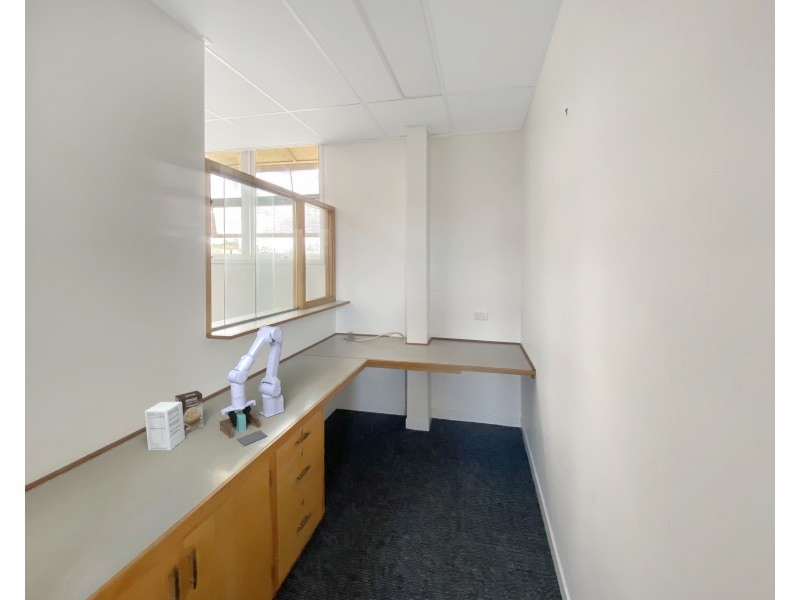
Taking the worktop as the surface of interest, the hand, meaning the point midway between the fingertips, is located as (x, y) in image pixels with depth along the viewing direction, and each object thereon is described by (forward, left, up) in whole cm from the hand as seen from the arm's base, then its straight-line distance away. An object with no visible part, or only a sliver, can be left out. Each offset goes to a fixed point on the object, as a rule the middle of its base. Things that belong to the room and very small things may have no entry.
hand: (239, 424), depth 149 cm
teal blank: (0, 0, -2) cm, 2 cm away
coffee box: (+15, -16, -2) cm, 22 cm away
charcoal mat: (0, +12, -2) cm, 13 cm away
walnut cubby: (0, 0, -2) cm, 2 cm away
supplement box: (+26, -9, -2) cm, 27 cm away
